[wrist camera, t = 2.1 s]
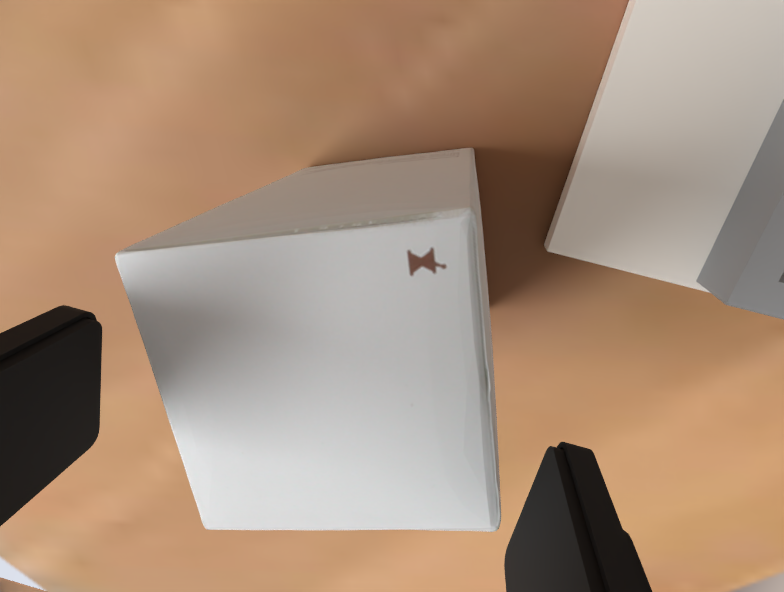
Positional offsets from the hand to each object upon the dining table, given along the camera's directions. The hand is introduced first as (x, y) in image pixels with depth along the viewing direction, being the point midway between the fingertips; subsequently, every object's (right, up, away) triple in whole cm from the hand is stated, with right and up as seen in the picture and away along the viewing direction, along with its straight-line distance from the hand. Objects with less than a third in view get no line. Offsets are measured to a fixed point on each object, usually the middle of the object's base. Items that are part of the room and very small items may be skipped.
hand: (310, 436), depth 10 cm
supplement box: (+2, +5, +12) cm, 13 cm away
